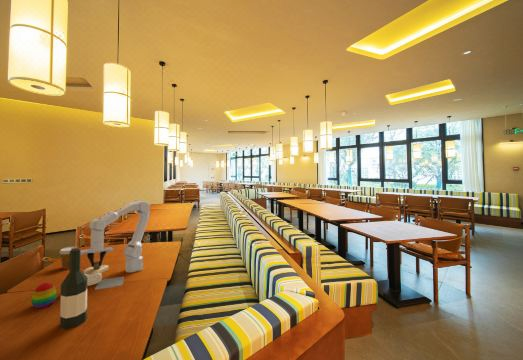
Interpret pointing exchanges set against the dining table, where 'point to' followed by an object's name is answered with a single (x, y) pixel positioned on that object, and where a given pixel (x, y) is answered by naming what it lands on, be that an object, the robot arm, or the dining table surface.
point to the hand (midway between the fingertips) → (96, 265)
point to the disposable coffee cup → (65, 257)
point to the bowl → (93, 278)
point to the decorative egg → (44, 295)
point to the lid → (96, 268)
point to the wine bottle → (74, 294)
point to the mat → (110, 283)
